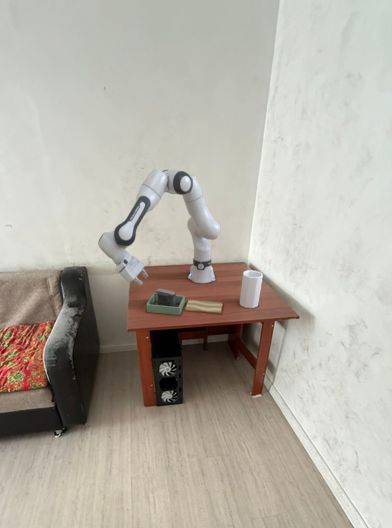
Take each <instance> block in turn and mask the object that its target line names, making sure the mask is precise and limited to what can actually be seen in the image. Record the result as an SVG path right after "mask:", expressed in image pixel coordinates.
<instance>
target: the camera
mask: <svg viewBox="0 0 392 528" xmlns="http://www.w3.org/2000/svg"><path fill="white" fill-rule="evenodd" d="M155 293H156V301H155V305H160V306H171V307H177V303H176V295H177V293H176V292H175V291H173V290H169V289H166V288H165V289H164V288H158V289H156V290H155Z"/></svg>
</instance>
